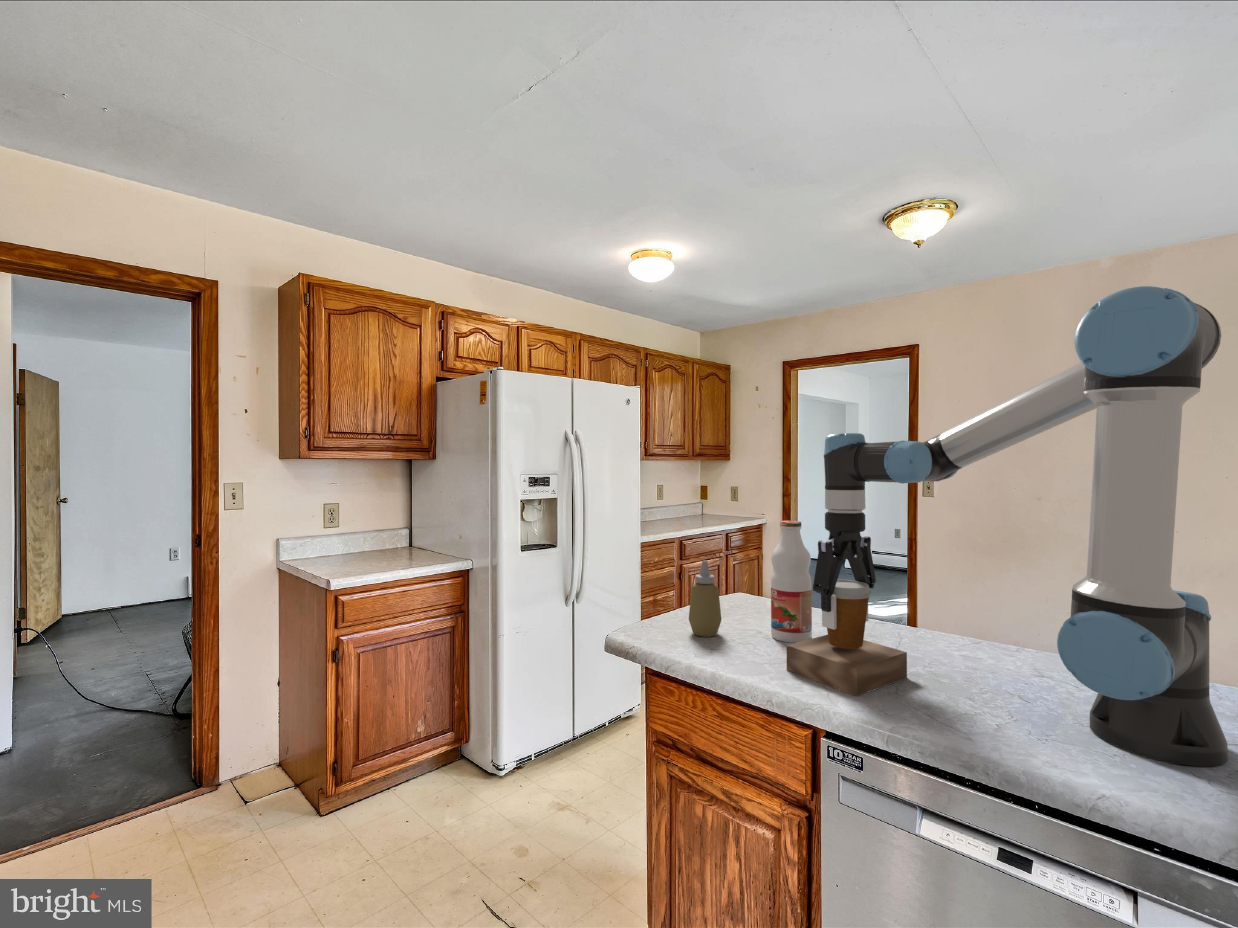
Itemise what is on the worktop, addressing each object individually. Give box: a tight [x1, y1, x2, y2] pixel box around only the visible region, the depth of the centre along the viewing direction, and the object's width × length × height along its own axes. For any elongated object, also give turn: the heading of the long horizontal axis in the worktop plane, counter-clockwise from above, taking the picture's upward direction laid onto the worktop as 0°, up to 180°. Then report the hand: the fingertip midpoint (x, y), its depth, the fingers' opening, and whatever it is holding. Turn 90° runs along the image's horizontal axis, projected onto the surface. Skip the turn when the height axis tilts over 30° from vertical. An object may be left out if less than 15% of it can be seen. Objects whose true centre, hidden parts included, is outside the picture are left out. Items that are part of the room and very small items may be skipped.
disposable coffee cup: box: [826, 579, 872, 649], centre depth 115 cm, size 10×10×12 cm
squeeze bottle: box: [688, 560, 722, 638], centre depth 142 cm, size 8×8×18 cm
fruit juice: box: [770, 520, 813, 644], centre depth 139 cm, size 9×9×28 cm
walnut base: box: [786, 634, 908, 697], centre depth 115 cm, size 16×16×5 cm
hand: (845, 623), depth 115 cm, fingers closed on disposable coffee cup, 9 cm apart
